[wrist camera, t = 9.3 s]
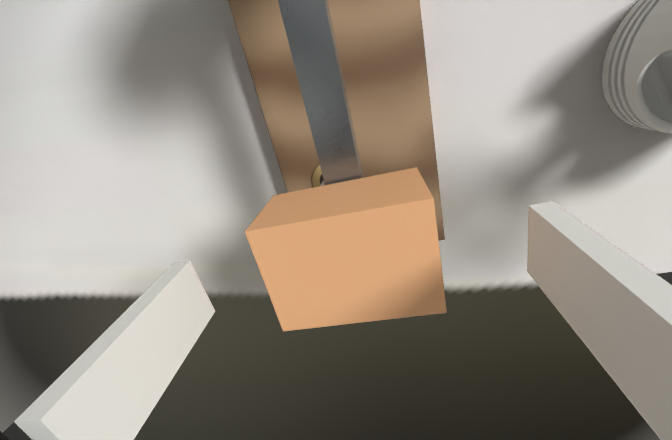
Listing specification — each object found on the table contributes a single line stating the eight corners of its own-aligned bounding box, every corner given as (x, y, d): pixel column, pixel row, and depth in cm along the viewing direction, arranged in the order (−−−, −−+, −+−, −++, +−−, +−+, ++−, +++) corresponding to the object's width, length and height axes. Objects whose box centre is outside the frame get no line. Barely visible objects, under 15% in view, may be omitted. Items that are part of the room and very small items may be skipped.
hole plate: (178, -190, 18) (160, -215, 16) (384, -283, 16) (386, -323, 14) (311, 252, 30) (308, 261, 28) (440, 231, 28) (445, 240, 26)
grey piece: (222, -166, 17) (-149, -783, 5) (345, -218, 16) (271, -1221, 4) (332, 246, 28) (304, 386, 15) (413, 233, 26) (453, 374, 14)
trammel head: (305, 154, 24) (244, 231, 12) (398, 134, 22) (433, 198, 11) (321, 213, 26) (283, 331, 14) (408, 198, 24) (446, 312, 13)
